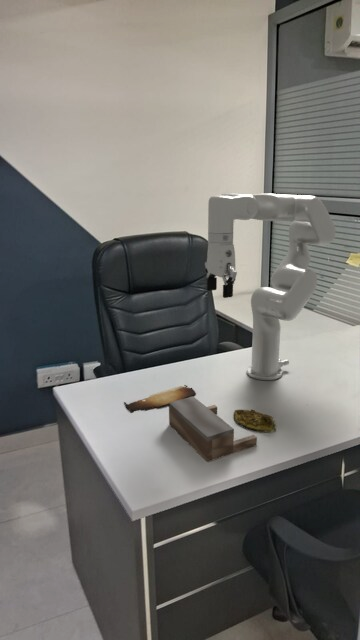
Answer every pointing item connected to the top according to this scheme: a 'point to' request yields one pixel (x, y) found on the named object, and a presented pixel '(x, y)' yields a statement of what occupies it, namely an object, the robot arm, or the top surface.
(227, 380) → the top surface
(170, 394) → the parchment
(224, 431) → the wooden step block
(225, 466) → the top surface
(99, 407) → the top surface
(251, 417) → the mottled yellow-brown oval piece
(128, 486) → the top surface
